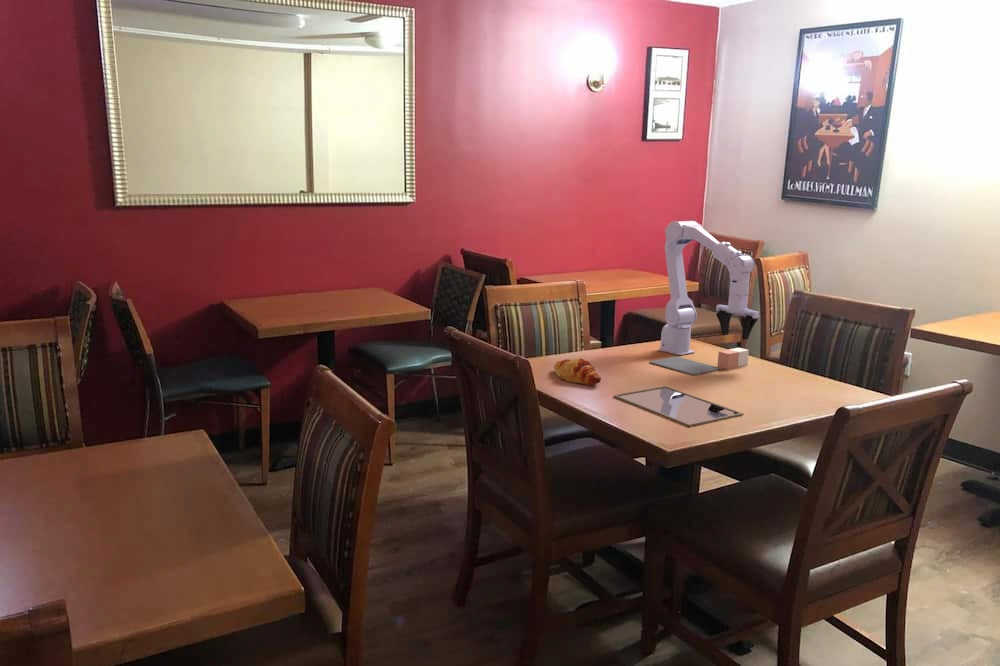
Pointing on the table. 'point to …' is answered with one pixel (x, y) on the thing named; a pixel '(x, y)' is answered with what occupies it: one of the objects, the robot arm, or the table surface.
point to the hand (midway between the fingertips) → (735, 337)
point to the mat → (685, 365)
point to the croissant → (577, 371)
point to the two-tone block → (733, 358)
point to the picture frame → (678, 406)
